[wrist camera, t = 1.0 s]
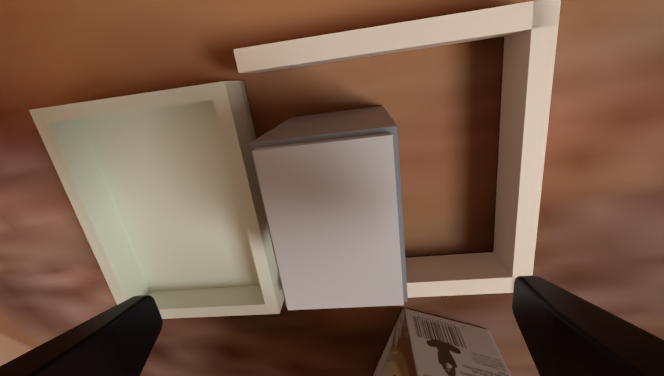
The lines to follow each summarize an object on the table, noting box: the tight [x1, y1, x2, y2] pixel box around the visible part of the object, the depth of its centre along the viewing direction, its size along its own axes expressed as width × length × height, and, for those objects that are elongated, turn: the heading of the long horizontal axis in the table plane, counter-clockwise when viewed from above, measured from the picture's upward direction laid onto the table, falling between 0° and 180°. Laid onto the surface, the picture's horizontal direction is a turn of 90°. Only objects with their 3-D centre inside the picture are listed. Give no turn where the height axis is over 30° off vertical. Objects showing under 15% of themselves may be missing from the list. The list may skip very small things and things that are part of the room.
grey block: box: [249, 106, 408, 310], centre depth 14 cm, size 5×7×7 cm
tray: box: [29, 80, 284, 319], centre depth 18 cm, size 10×14×2 cm
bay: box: [233, 0, 561, 298], centre depth 16 cm, size 14×14×2 cm
